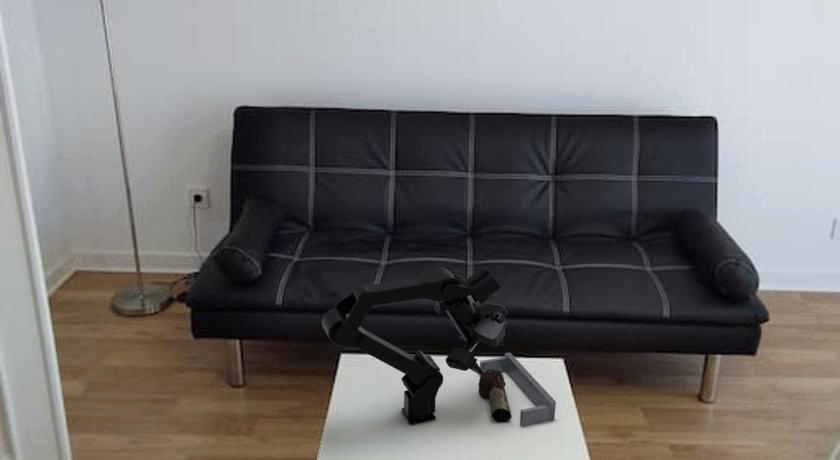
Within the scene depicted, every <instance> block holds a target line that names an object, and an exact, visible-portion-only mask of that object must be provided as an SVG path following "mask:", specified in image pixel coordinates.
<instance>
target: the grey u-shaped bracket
mask: <svg viewBox="0 0 840 460" xmlns="http://www.w3.org/2000/svg"><path fill="white" fill-rule="evenodd" d="M479 367H480V368H481V370H482V372H486V371H487V370H488V369H492V368H493V369H494V370H499V371H501V373H502V374H503V373H505V374H507V376H508V377H509V378H510V379H511V380H512V381H513V382H514V384H515V385H516V386H517V387H518V388H519V390H521V391H522V393H523V394H524V395H525V396H526V397H527V399H528V400H529V401H530V402H531V403H532V404H533V405H534V407H532V406H531V407H529V408H524V409H520V414H519V415H520V419H519V425H520V426H521V428H523V427H527V426H533V425H537V424H542V423H543V424H544V423H547V422H552V421H555V416H556V406H557V402H556V400H555V399H554V398H553V397H552V396H551V395H550V393H548V391H546V389H545V388H544V387H543V386H542V385H541V383H539V382H538V381H537V379H535V378H534V377H533V375H532V374H530V372H529V370H527V369H526V368H525V367H524V366H523V365H522V364H521V362H519V360H518V359H517V358H516V357H515V356H514V355H513V353H511V352H505V353H504V356H502V357H497V358H496V357H495V358H490V359H485V360H480V361H479ZM480 376H481V375H479V377H480Z"/></svg>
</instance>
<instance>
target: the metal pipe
mask: <svg viewBox="0 0 840 460" xmlns="http://www.w3.org/2000/svg"><path fill="white" fill-rule="evenodd" d="M483 374H484V375H483V376H482V375H481V376H480V375H479V380H478V381H479V382H478V394H479V396H480V397H481V398H482V399H485V400H487V401H488V400H489V406H490V417H491V420H493V422H495V423H497V424H501V423H502V424H503V423H505V424H507V423H509V422H510V421H511V419H512V418H513V417H512V416H513V415H512V410H511V407H510V403H509V400H508V395H507V392H506V388H505V386H506V382H505V377H504V375H503V373H501V371H499V370H494V369H493V368H492V369H488V370H487V371H486V372H483Z"/></svg>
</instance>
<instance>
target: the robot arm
mask: <svg viewBox="0 0 840 460" xmlns="http://www.w3.org/2000/svg"><path fill="white" fill-rule="evenodd" d="M501 290H502V288H501V286H500V284H499V283H498V281H497V280H495V278H494V276H493V275H492V274H491V273H490V272H489V270H488V269H487V268H486V267H485V266H482V267H481V268H480V269H478V271H476V272H475V273H474V274H473V275H471V276H470V277H468V278H467V279H464V277H463V276H461V275H458V274H454V273H451V271H449V270H448V269H447V268H445V267H435V268H433V269H430V270H426V271H425V272H423V273H422V274H421V275H419V276H416V277H413V278H408V279H407V278H406V279H401V280H393V281H387V282H381V283H374V284H373V283H372V284H369V285H368V284H367V285H364V284H360V285H357V286H356V287H355V288H354V289H353V290H352V291H351V292H350V293H349V294H347V295H346V296H344V297H343V298H341V299H339V300H338V301H337V302H336V304H335V305H333V307H332V308H331V309H329V310H327V311H326V312H325V313H324V315H323V316H322V318H321V325H322V328H323V329H324V331H325V334H326V335H327V336H328V339H329V340H330V342H331V343H332V344H334V345H337V346H339V347H342V348H346V349H358V350H360V351H362V352H363V353H365V354H367V355H369V356H372V357H373V358H375V359H377V360H379V361H380V362H382V363H383V364H385V365H388V366H390V367H392V368H394V369H395V370H396V371H399V372H401V373H402V374H404V375H403V376H402V377H401V381H402V384H403V386H404V387H405V388H406V390H404V391H403V407H402V408H401V412H402V414H403V415H404V418H405V419H406V420H407V422H408V424H409V425H417V424H422V423H426V422H427V423H428V422H432V421H435V420H436V419H437V417H436V415H435V413H436V398H437V395H438V392H439V390H440V388H441V387H442V385H443V383H444V376H443V374H442V372H441V369H440V366H439V365H438V364H437V363H436V362H435V360H434V358H432V356H431V355H429V354H425V353H423V352H422V351H421V350H420V349H418V350H417V352H416V353H415V354H410V353H407V352H406V351H404V350H402V349H401V348H399V347H397V346H395V345H394V344H392V343H390V342H388V341H386V340H384V339H382V338H380V337H379V336H378V335H376V334H374V333H372V332H370V331H368V330H366V329H364V328H363V327H362V324H363V322H364V320H365V318H366V316H367V315H368V312H369V311H370V310H371V309H372V308H373V307H379V306H384V305H391V304H396V303H403V302H404V303H405V302H408V301H409V302H410V301H415V300H428V301H431V302H435V303H434V305H433V309H434V310H435V311H436V312H437V313H438V314H439V315H440V316H441V315H443V314H444V313H447V315H448V317H449V318H450V320H451V322H450V325H451V327H454V328H456V330H458V332H459V334H458V337H459V339H460V340H464V341H465V343H464V344H463V346H462V347H453V348H452V349H451V351H450V352H449V354H447V356H446V358H445V363H446V364H447V366H448V368H449V369H451V368H452V369H455V370H459V371H463V372H465V371H468V370H470V371H472V372H474V373H475V374H478V375H479V376H480V375H482V376H483V375H484V374H483V372H482V370H481V368H480V364H478V363H477V361H478V358H476V357H475V354H474V353H473V351H474V349H475V347H476V346H477V344H480V342H481V343H483V344H486V345H488V346H490V347H492V348H497V347H498V346H499V347H504V346H505V345H504V338H505V336H506V332H505V329H506V327H507V326H508V323H507V320H506V319H507V315H508V314H509V313H508V311H507V309H506V307H505V306H504V305H502V304H496V303H488V302H487V303H485V302H486V301H488V300H489V299H490V298H492V297H493V296H495V295H496V294H498V293H499V292H501ZM468 297H469V298H470V299H469V298H468ZM470 300H471V301H472V302H473V303H474V304H476V303H478V305H483V303H485V304H484V306H482V308H481V309H480V310H475V308H474V306H473V304H472V303H471V301H470Z"/></svg>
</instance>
